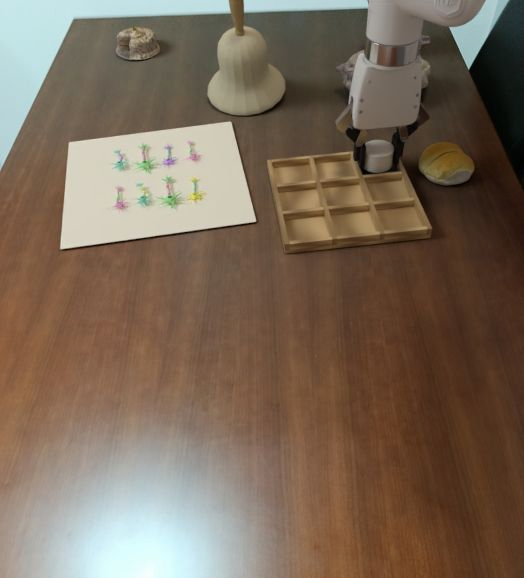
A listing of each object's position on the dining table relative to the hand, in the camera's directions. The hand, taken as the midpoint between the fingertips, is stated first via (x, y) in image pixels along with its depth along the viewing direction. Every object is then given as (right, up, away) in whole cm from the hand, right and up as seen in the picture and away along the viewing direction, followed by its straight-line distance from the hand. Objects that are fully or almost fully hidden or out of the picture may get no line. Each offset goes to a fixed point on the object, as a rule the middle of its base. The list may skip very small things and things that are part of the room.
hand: (377, 160), depth 96 cm
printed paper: (-37, -2, +3) cm, 37 cm away
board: (-6, -7, -3) cm, 10 cm away
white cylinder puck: (0, 0, 0) cm, 1 cm away
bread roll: (+11, -2, +1) cm, 11 cm away
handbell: (-22, +19, +19) cm, 35 cm away
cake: (-47, +35, +34) cm, 68 cm away
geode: (+4, +18, +17) cm, 25 cm away
